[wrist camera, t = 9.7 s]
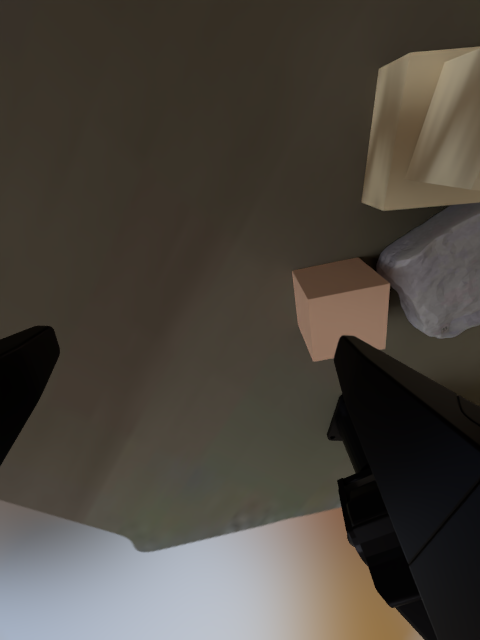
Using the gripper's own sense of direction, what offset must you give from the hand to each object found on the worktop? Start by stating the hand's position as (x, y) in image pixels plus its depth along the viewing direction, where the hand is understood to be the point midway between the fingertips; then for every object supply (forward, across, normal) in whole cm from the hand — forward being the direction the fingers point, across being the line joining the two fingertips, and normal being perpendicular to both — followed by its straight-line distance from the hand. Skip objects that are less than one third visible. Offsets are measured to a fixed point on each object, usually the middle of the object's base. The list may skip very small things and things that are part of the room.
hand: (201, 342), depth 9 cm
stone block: (+14, -19, +1) cm, 23 cm away
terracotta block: (+13, -9, +4) cm, 16 cm away
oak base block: (+13, -13, -7) cm, 20 cm away
